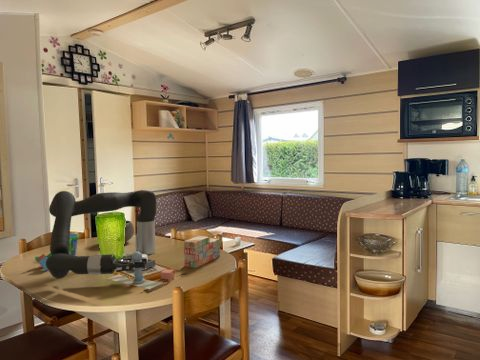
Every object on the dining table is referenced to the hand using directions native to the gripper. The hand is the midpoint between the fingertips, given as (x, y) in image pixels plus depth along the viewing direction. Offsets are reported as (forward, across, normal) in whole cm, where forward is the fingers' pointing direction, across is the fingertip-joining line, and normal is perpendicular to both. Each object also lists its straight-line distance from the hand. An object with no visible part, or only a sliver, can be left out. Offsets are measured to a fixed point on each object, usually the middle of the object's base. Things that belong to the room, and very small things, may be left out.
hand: (145, 262), depth 149 cm
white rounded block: (-5, -20, -8) cm, 22 cm away
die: (+8, -4, -9) cm, 13 cm away
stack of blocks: (+23, -30, -9) cm, 39 cm away
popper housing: (-5, -20, -9) cm, 23 cm away
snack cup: (-47, -51, -9) cm, 70 cm away
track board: (-5, -2, -9) cm, 11 cm away
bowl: (-27, -74, -9) cm, 79 cm away
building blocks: (-48, -30, -9) cm, 58 cm away
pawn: (-3, 0, -8) cm, 8 cm away
